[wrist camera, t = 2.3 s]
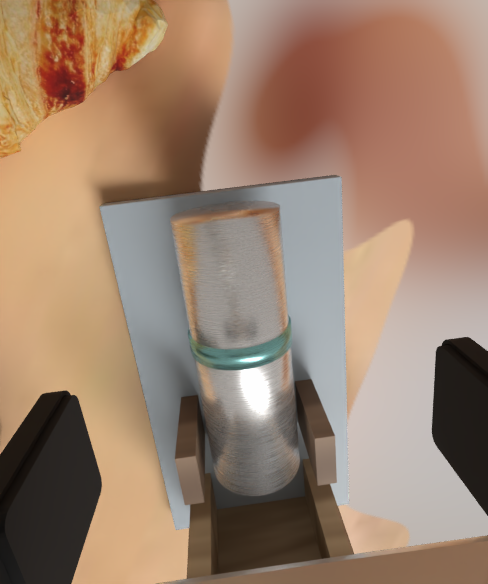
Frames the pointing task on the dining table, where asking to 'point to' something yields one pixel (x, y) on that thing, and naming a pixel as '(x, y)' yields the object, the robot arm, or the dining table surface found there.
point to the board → (174, 325)
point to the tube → (241, 340)
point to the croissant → (65, 55)
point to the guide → (310, 422)
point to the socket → (265, 531)
